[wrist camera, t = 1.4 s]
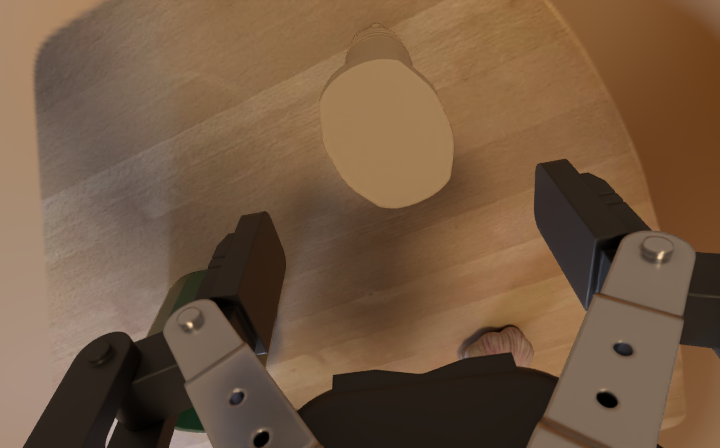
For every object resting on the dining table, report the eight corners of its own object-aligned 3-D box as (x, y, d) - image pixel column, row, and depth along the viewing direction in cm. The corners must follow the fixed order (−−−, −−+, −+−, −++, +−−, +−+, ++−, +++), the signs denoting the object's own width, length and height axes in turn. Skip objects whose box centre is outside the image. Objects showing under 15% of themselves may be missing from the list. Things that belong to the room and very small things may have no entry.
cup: (147, 279, 42) (96, 367, 33) (255, 261, 40) (229, 348, 32) (195, 350, 48) (162, 439, 40) (289, 336, 47) (275, 425, 38)
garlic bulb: (526, 314, 45) (555, 381, 38) (526, 357, 49) (552, 424, 42) (453, 325, 46) (469, 393, 39) (460, 366, 50) (475, 434, 43)
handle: (364, 104, 32) (369, 222, 19) (321, 19, 28) (293, 98, 16) (425, 74, 30) (472, 180, 18) (388, -19, 27) (413, 35, 15)
